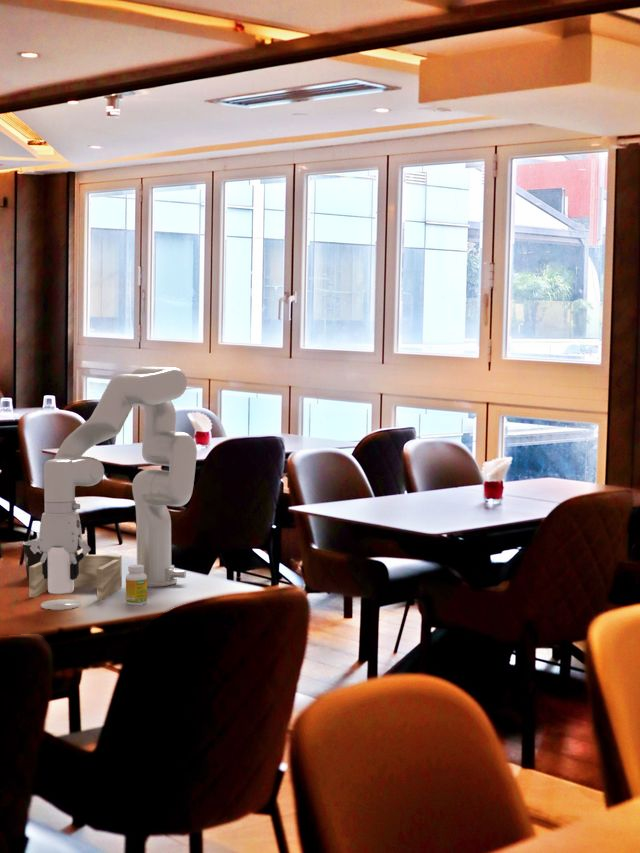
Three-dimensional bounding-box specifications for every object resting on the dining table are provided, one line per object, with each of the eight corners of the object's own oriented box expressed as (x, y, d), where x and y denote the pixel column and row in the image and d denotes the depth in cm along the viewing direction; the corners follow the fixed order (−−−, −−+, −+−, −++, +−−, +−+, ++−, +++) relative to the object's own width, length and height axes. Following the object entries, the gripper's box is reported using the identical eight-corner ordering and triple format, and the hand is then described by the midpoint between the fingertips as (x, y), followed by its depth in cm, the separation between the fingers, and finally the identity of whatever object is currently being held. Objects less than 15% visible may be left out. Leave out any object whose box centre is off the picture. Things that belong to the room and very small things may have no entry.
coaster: (86, 602, 312) (86, 599, 312) (73, 610, 302) (72, 608, 302) (49, 600, 314) (49, 598, 314) (34, 609, 304) (34, 606, 304)
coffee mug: (51, 580, 341) (51, 545, 340) (20, 580, 340) (20, 545, 340) (57, 572, 353) (57, 538, 352) (27, 573, 352) (27, 538, 351)
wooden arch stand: (121, 587, 331) (121, 555, 331) (102, 599, 315) (102, 566, 315) (51, 585, 334) (51, 553, 334) (29, 597, 318) (28, 563, 318)
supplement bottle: (137, 606, 307) (137, 568, 307) (121, 603, 310) (121, 566, 310) (151, 602, 312) (151, 565, 311) (135, 600, 315) (135, 563, 314)
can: (70, 594, 304) (70, 547, 304) (45, 594, 305) (44, 547, 304) (76, 589, 311) (75, 543, 310) (51, 589, 311) (50, 542, 310)
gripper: (97, 506, 309) (98, 576, 310) (32, 505, 311) (33, 574, 312) (87, 510, 301) (88, 582, 302) (21, 509, 304) (22, 580, 305)
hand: (60, 577), depth 307 cm, fingers closed on can, 6 cm apart
